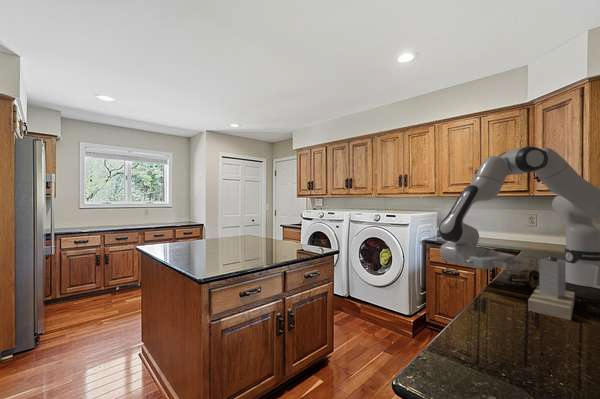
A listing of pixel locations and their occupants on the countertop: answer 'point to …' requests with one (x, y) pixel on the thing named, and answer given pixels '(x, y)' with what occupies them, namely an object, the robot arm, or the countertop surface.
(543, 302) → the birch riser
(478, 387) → the countertop surface
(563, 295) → the aluminium block
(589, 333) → the countertop surface
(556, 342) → the countertop surface
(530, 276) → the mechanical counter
